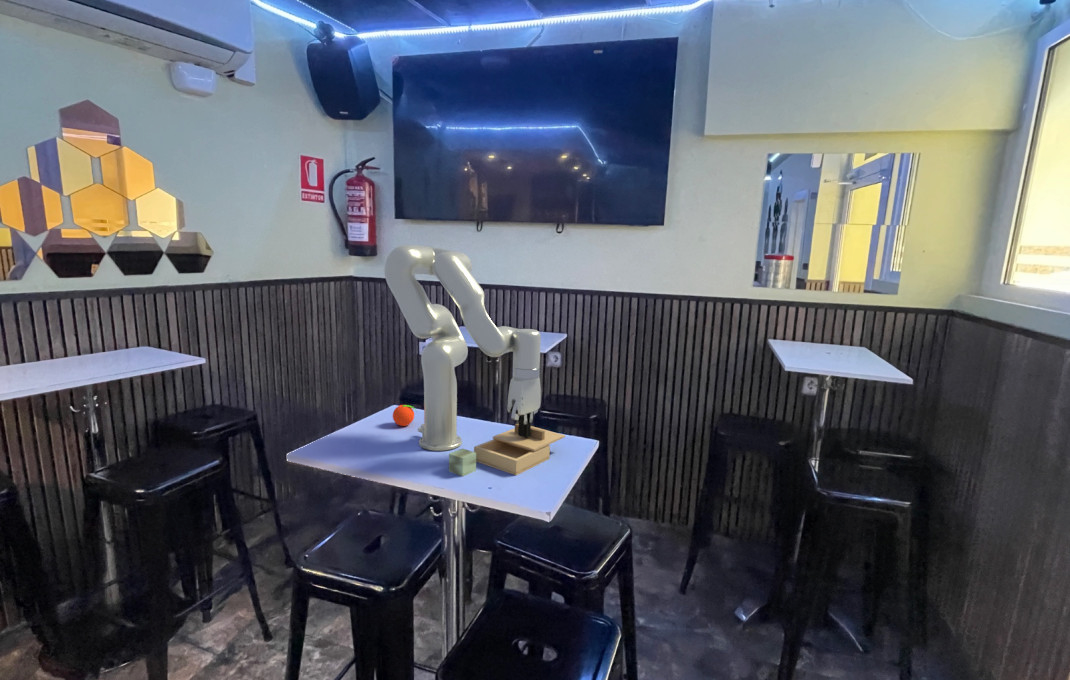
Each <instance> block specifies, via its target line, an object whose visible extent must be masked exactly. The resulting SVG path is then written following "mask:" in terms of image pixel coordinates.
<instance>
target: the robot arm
mask: <svg viewBox="0 0 1070 680" xmlns="http://www.w3.org/2000/svg"><path fill="white" fill-rule="evenodd" d="M472 267H473V265H472V262H471V259H470V258H469V256H468V255H466V254H465V253H463V252H462V251H455V250H449V249H444V248H443V249H442V248H439V247H433V246H427V245H421V244H420V245H418V244H417V245H416V244H402V245H399V246H397V247H395V248H393V249H392V250H390V252H389V253H388V255H387V257H386V259H385V262H384V269H383V272H384V278H385V281H386V284H387V286H388V287H389V289H390V291H391V293H392V295H393V296H394V299H395V300H396V302H397V305H398V307H399V309H400V310H401V311H400V312H402V315H403V316H404V317H403V318H405V321H406V323H407V324H408V327H409V329H410V330H411V333H412V334H413V335H414V336H415V337H417V338H418V339H430V338H431V340H432V341H431V342H429V343H428V344H427V345H426V346H425V347H424V348H423V350H422V352H421V357H420V359H421V360H420V361H421V368H422V375H423V395H424V396H423V397H424V398H423V399H424V400H423V407H424V408H423V410H424V412H423V415H424V418H423V420H424V421H423V423H422V424H421V425H420V426H419V427H418V428H417V432H419V433H421V434H422V435H421V436H422V437H421V438H420V439H419V440H418V445H419V447H421V448H422V449H424V450H428V451H436V452H437V451H439V452H441V451H450V450H454V449H456V448H458V447H460V446H461V445H462V442H463V441H462V438H461V436H459V435H457V432H458V431H457V427H458V425H457V421H458V420H457V418H458V417H457V415H458V409H457V408H458V406H457V405H458V403H457V402H458V396H457V395H458V382H457V376H456V371H455V368H456V367H457V366H458V367H459V365H461V364H462V363H464V362H465V361H466V359H467V358H468V352H469V350H468V349H469V348H468V344H467V341H466V340H465V338H464V336H463V334H462V331H461V330H460V327H459V325H458V324H457V321H456V320H455V318H454V316H453V313H451V311H450V310H449V309H448V308H447V307H446V306H444V305H442V304H439V303H434V304H433V303H431V301H430V299H429V297H428V295H427V293H426V291H425V289H424V287H423V286H422V284H421V283H420V282H419V281H418V280H417V278H416V276H415V275H428V276H435V277H436V279H437V280H438V281H439V283H441V285H442V286H443V288H444V290H446V292H447V294H448V295H449V296H450V297H451V299H452V301H453V302H454V303H455V305H456V306H457V307H458V309H459V312H460V316H461V318H462V321H463V324H464V327H465V329H466V330H467V333H468V334H469V336H470V337H471V339H472V340H473V342H474V343H475V344H476V346H477V347H478V349H480V351H482V352H483V353H484V354H485V355H487V356H489V357H490V358H497V357H501V356H503V355H504V354H507V353H510V352H513V353H512V378H511V379H510V383H509V387H508V395H507V409H506V410H507V412H508V413H510V414H511V417H510V419H512V420H514V421H516V422H517V424H519V427H518V435H519V436H522V437H529V436H530V434H531V426H532V425H531V423H532V422H533V418H534V416H535V414H537V413H538V411H539V409H540V408H541V402H542V398H541V397H542V389H541V379H540V370H541V369H540V367H541V366H540V365H541V364H540V363H541V340H542V338H541V336H542V335H541V332H540V331H538V330H537V329H532V328H515V327H511V326H505V325H502V326H498V327H497V326H496V325H495V323H494V322H493V320H491V317H490V316H489V314H488V313H487V310H486V307H485V291H484V290H483V288H482V287H481V285H480V283H479V282H478V281H477V280H476V278H475V277H474V276H473V274H472Z"/></svg>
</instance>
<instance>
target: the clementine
mask: <svg viewBox="0 0 1070 680" xmlns="http://www.w3.org/2000/svg"><path fill="white" fill-rule="evenodd" d="M414 410H415V411H416V413H418V411H417V409H416V408H415V407H414V406H412V405H409V404H400V405H398V406H396V407H395V409H394V410H393V412H392V419H393V422H394V423H395V424H396V425H397V426H401V427H406V426H409V425H410V424H411V423H412V422H413V421H414V419H415V412H414Z"/></svg>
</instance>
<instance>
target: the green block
mask: <svg viewBox="0 0 1070 680" xmlns="http://www.w3.org/2000/svg"><path fill="white" fill-rule="evenodd" d="M476 471H477V462H476V453H475V452H474V451H472V450H468V449H466V448H464V447H463V448H459V449H457V450H454V451H452V452H450V453H448V472H449V473H453V474H455V475H457V476H459V477H465V476H467V475H470V474H472V473H474V472H476Z"/></svg>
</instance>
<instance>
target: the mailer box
mask: <svg viewBox="0 0 1070 680" xmlns="http://www.w3.org/2000/svg"><path fill="white" fill-rule="evenodd" d="M550 446H551V444H549V445H547V446H545V447H543V448H541V449H539V450H536V451H532V450H528V449H525V448H522V447H518V446H515V445H512V444H509V443H505V442H502V441H499V440H496V439H493V438H492V439H490V440H489V441H486V442H483V443H481V444H477V445H475V446H474V447H473V452H475V453H476V463H480V464H482V465H485V466H488V467H491V468H494V469H496V470H500V471H503V472H505V473H507V474H511V475H514V476H517V475H520V474H522V473H524V472H526V471H528V470H529V469H532V468H534V467H535V466H537V465H540V464H542V463H544V462H546V461H548V460H549V459H550V453H551V451H550V450H551V449H550Z"/></svg>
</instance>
